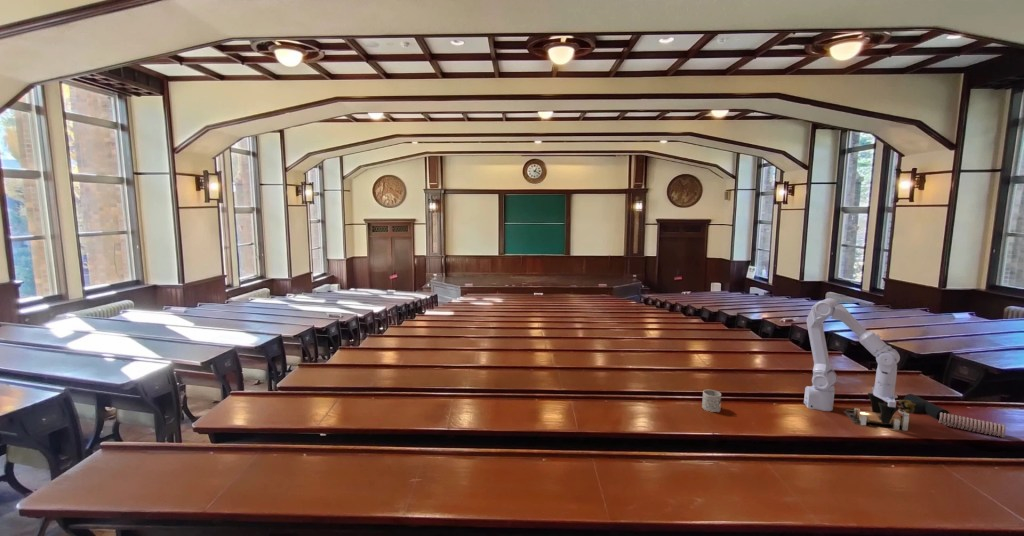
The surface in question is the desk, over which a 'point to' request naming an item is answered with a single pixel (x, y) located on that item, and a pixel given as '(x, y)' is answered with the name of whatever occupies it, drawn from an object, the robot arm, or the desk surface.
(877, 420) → the tube
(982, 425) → the coil
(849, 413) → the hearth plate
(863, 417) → the small blocks
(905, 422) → the aperture bracket
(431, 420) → the desk surface
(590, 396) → the desk surface
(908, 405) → the pipe connector
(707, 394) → the mug
